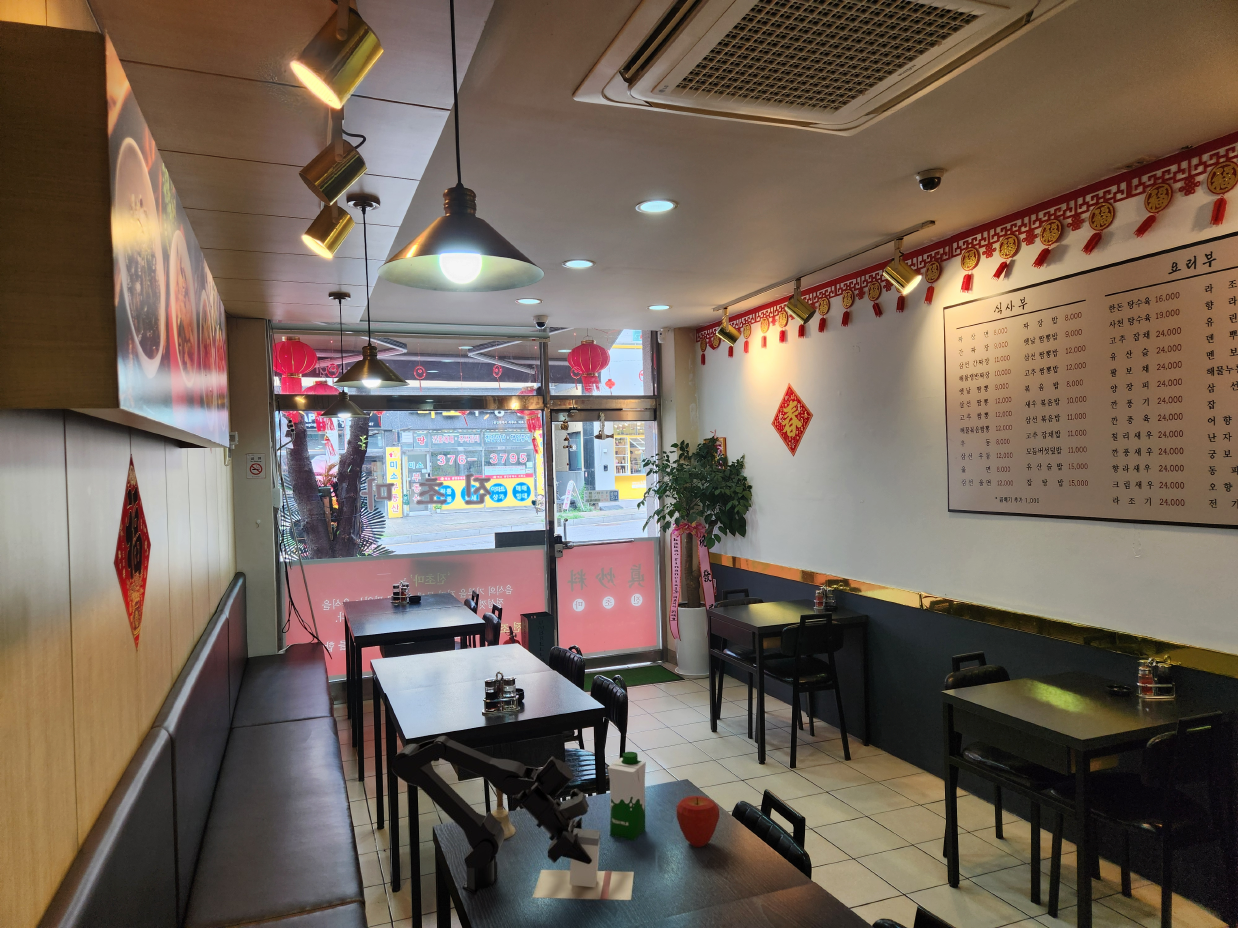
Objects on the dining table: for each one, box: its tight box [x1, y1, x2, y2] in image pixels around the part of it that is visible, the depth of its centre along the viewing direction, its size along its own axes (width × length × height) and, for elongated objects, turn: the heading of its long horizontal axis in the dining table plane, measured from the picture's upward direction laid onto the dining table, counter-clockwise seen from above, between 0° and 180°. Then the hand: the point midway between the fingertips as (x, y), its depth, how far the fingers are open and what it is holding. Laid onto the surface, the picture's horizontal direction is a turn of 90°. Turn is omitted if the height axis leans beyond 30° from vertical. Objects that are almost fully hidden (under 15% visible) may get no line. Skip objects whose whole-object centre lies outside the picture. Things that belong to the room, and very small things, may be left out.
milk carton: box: [607, 751, 647, 842], centre depth 205 cm, size 9×9×20 cm
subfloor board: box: [532, 869, 635, 901], centre depth 177 cm, size 22×12×1 cm, turn 86°
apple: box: [676, 795, 720, 848], centre depth 198 cm, size 11×11×12 cm
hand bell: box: [491, 788, 516, 840], centre depth 206 cm, size 8×8×16 cm
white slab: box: [569, 828, 601, 887], centre depth 177 cm, size 6×4×11 cm
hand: (591, 857), depth 177 cm, fingers closed on white slab, 4 cm apart
